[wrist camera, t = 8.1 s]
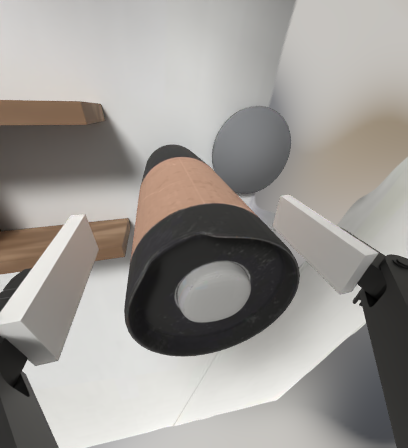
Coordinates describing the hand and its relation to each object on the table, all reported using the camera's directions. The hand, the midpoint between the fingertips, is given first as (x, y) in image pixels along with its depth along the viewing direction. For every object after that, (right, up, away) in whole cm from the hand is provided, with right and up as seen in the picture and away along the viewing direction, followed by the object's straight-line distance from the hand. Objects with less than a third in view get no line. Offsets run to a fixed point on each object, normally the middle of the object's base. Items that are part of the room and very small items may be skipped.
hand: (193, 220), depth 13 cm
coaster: (+7, +9, +12) cm, 17 cm away
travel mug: (-3, +7, +12) cm, 14 cm away
